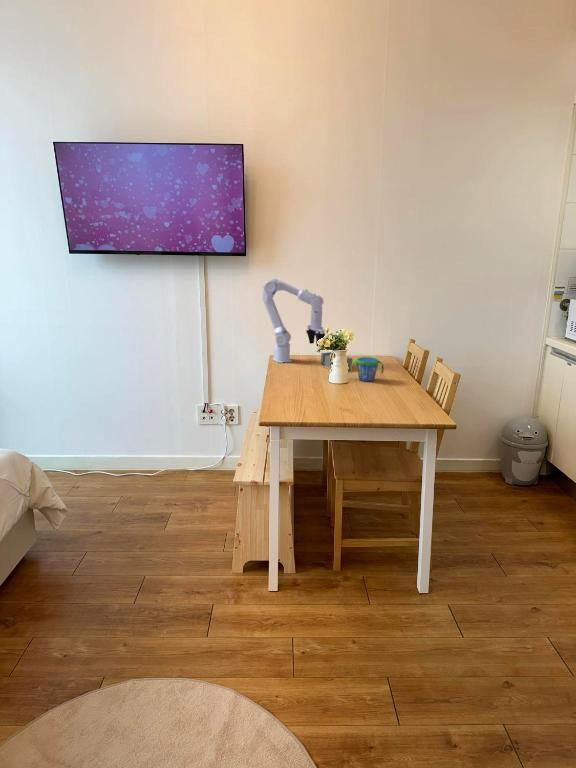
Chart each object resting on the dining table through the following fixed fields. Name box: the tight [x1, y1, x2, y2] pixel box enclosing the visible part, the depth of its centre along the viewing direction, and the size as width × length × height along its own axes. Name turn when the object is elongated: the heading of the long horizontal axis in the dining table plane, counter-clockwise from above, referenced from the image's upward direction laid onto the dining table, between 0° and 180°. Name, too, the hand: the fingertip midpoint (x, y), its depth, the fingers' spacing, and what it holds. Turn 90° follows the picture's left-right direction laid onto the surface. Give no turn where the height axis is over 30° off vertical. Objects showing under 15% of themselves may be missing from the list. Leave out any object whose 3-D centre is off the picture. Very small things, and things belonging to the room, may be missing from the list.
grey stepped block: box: [320, 351, 353, 371], centre depth 295 cm, size 17×10×6 cm, turn 27°
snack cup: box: [350, 356, 384, 382], centre depth 270 cm, size 16×10×10 cm
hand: (315, 344), depth 299 cm, fingers open, 7 cm apart
